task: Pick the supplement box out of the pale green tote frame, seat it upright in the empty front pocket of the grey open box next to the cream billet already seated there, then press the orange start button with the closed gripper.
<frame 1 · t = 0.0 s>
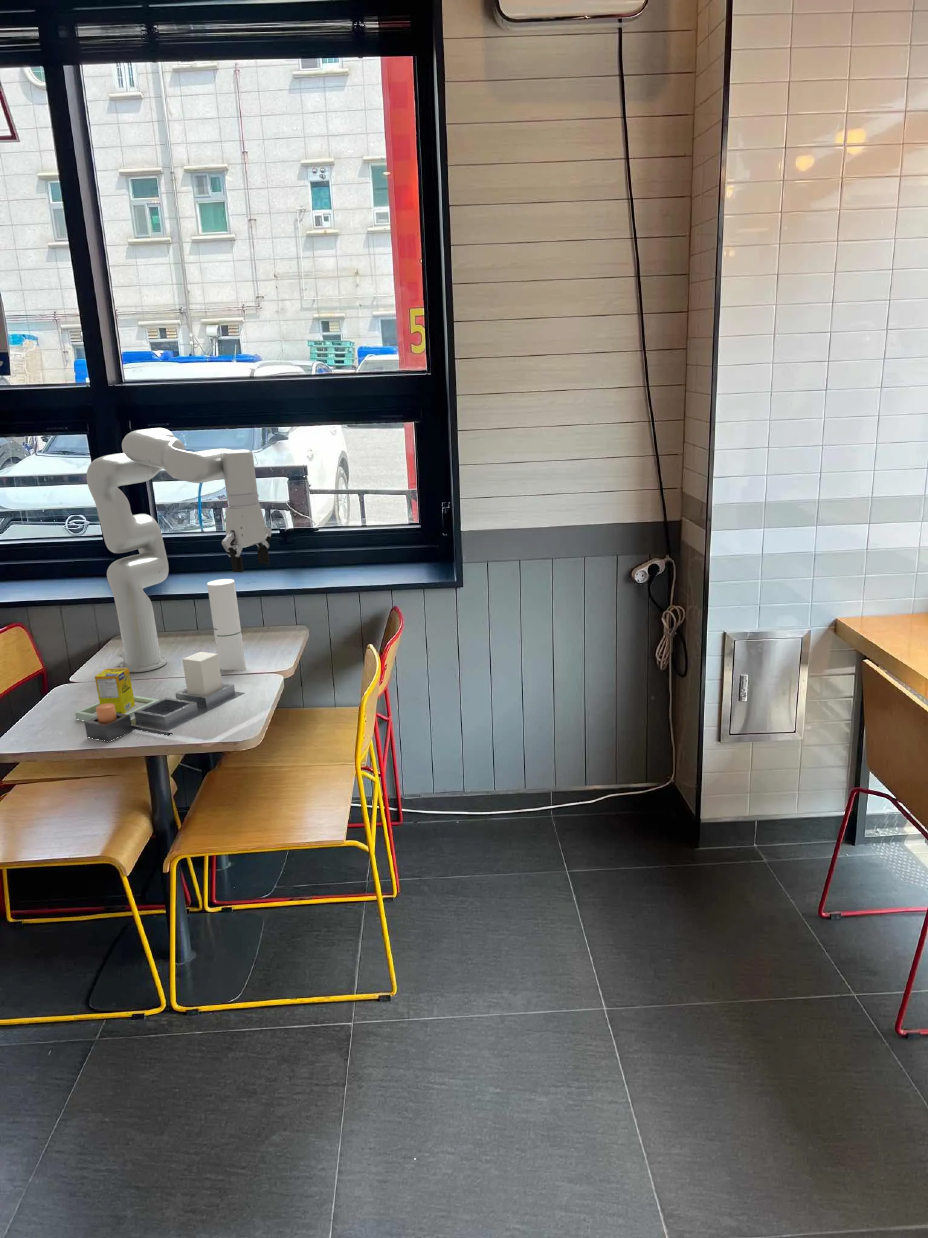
hand: (251, 567, 227), 31 cm above the table, tool pointing down, fingers open, 9 cm apart
cream billet: (206, 698, 224), point 1 cm above the table, touching grey open box
start button: (106, 715, 206), point 5 cm above the table, slide at 0.0 cm
cylindrical container: (232, 670, 249), on the table
tote frame: (119, 713, 220), on the table
supplement box: (119, 714, 220), resting in tote frame
button housing: (110, 734, 207), on the table
grey open box: (187, 712, 219), on the table
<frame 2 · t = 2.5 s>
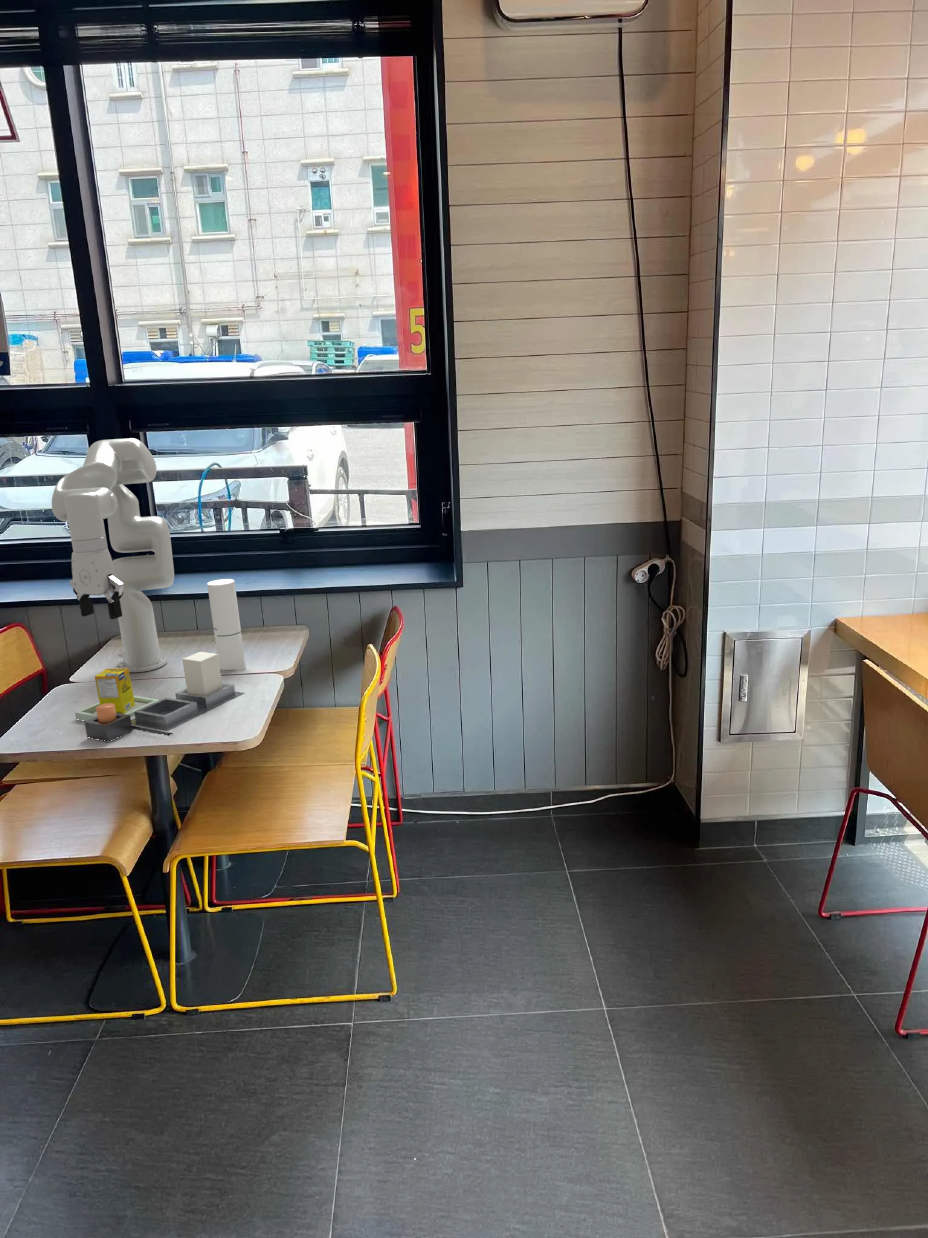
hand: (102, 616, 213), 25 cm above the table, tool pointing down, fingers open, 9 cm apart
nothing on the table moved.
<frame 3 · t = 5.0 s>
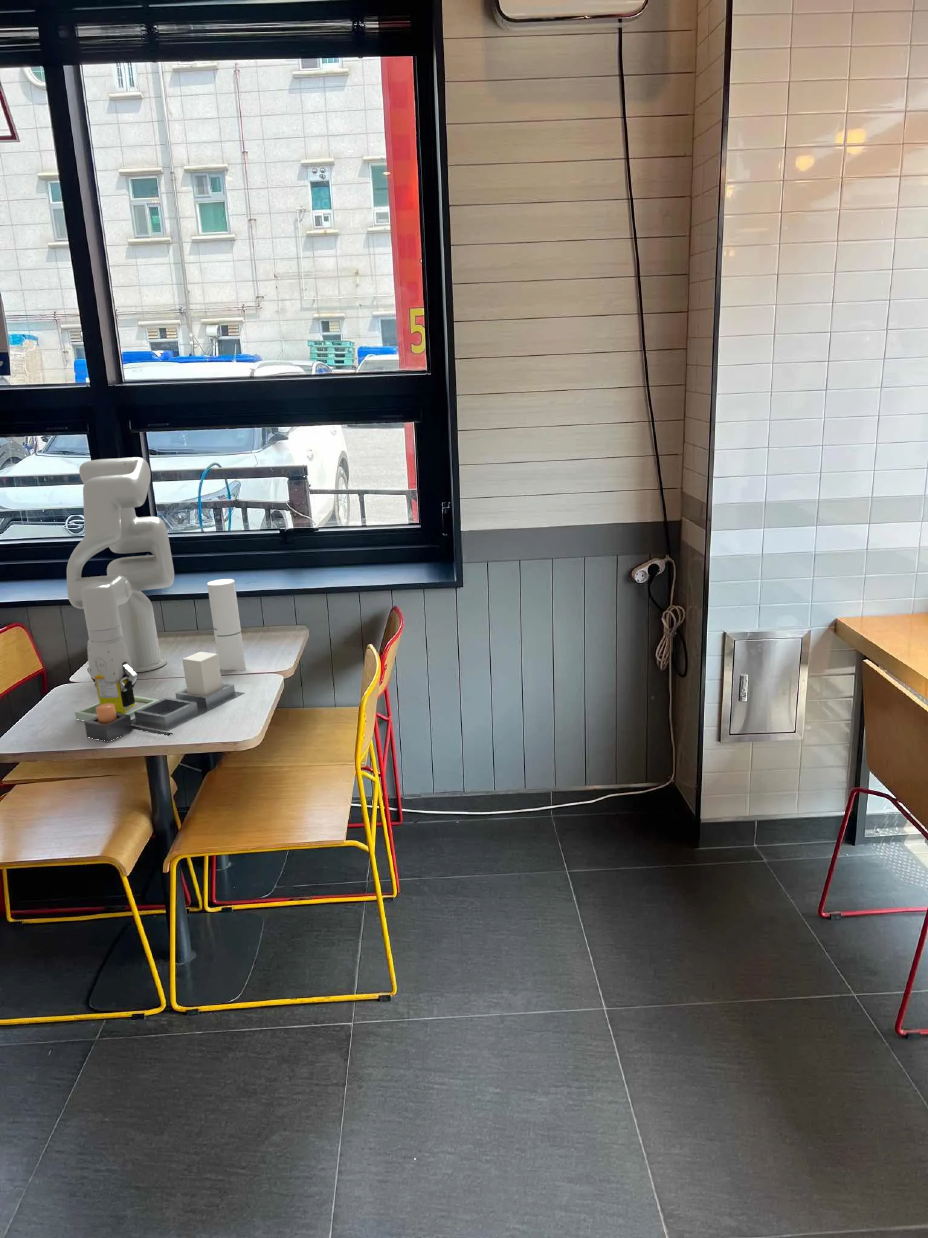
hand: (117, 702, 219), 3 cm above the table, tool pointing down, fingers closed on supplement box, 7 cm apart
supplement box: (119, 714, 220), resting in tote frame, touching gripper
everything else where it was.
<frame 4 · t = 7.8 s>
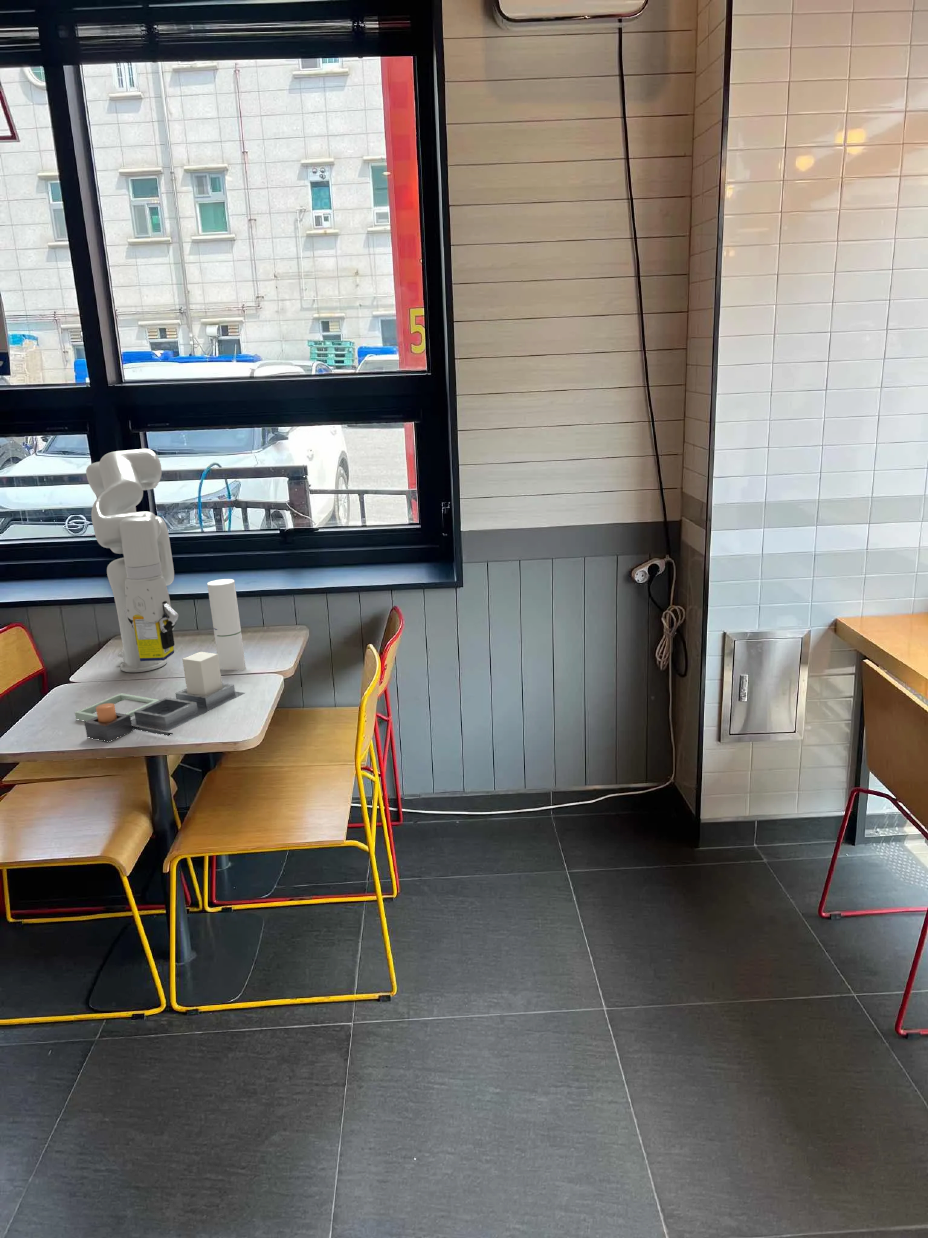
hand: (155, 645, 208), 19 cm above the table, tool pointing down, fingers closed on supplement box, 7 cm apart
supplement box: (157, 658, 209), point 16 cm above the table, touching gripper
everything else where it was.
when the fingers open (5 cm above the table, at t = 10.7 s): supplement box drops 1 cm, resting on grey open box.
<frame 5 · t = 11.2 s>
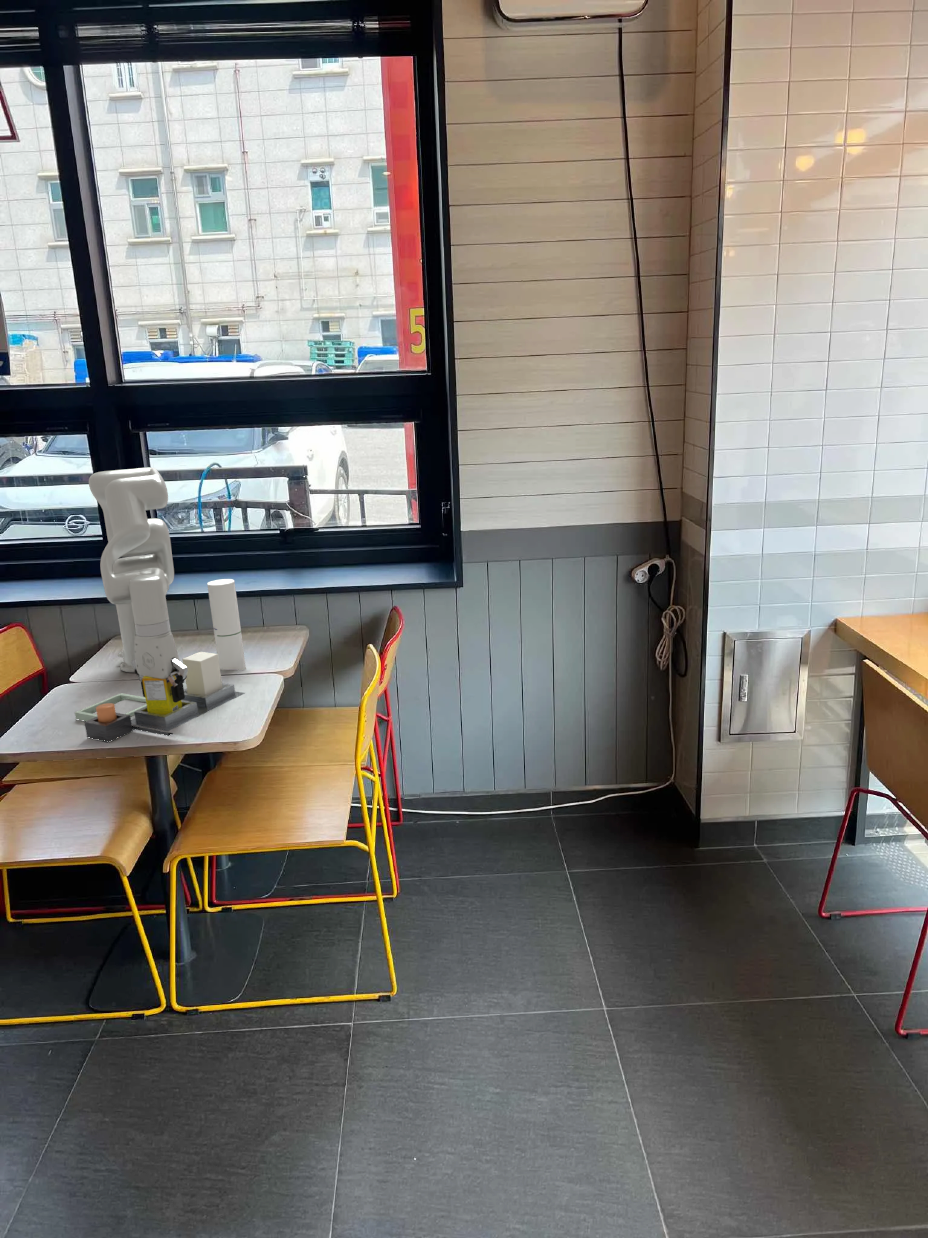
hand: (164, 697, 211), 6 cm above the table, tool pointing down, fingers open, 9 cm apart
supplement box: (166, 717, 213), point 1 cm above the table, touching grey open box
everything else where it was.
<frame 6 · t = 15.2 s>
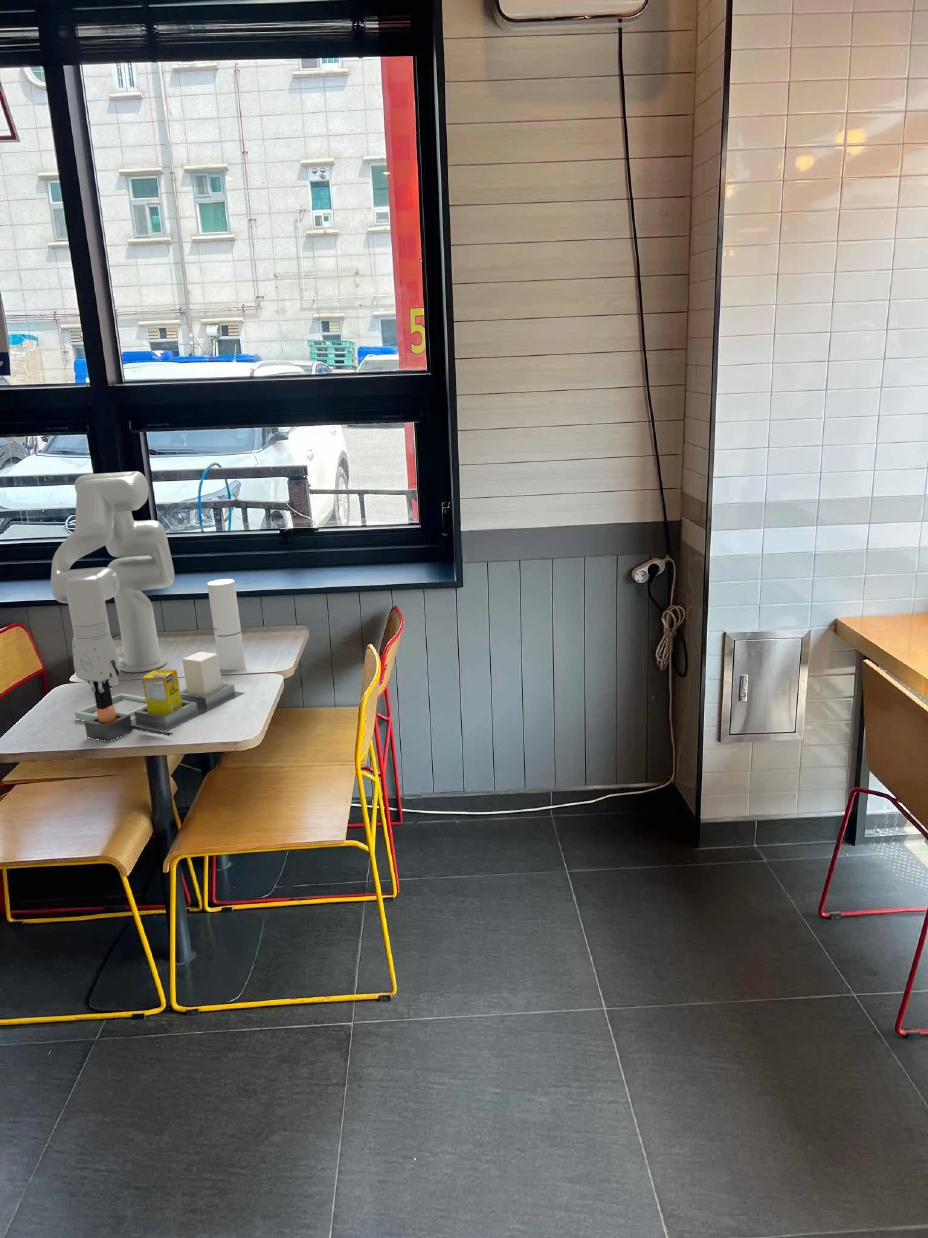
hand: (105, 706, 205), 7 cm above the table, tool pointing down, fingers closed
start button: (106, 715, 206), point 5 cm above the table, slide at 0.0 cm, touching gripper
everything else where it was.
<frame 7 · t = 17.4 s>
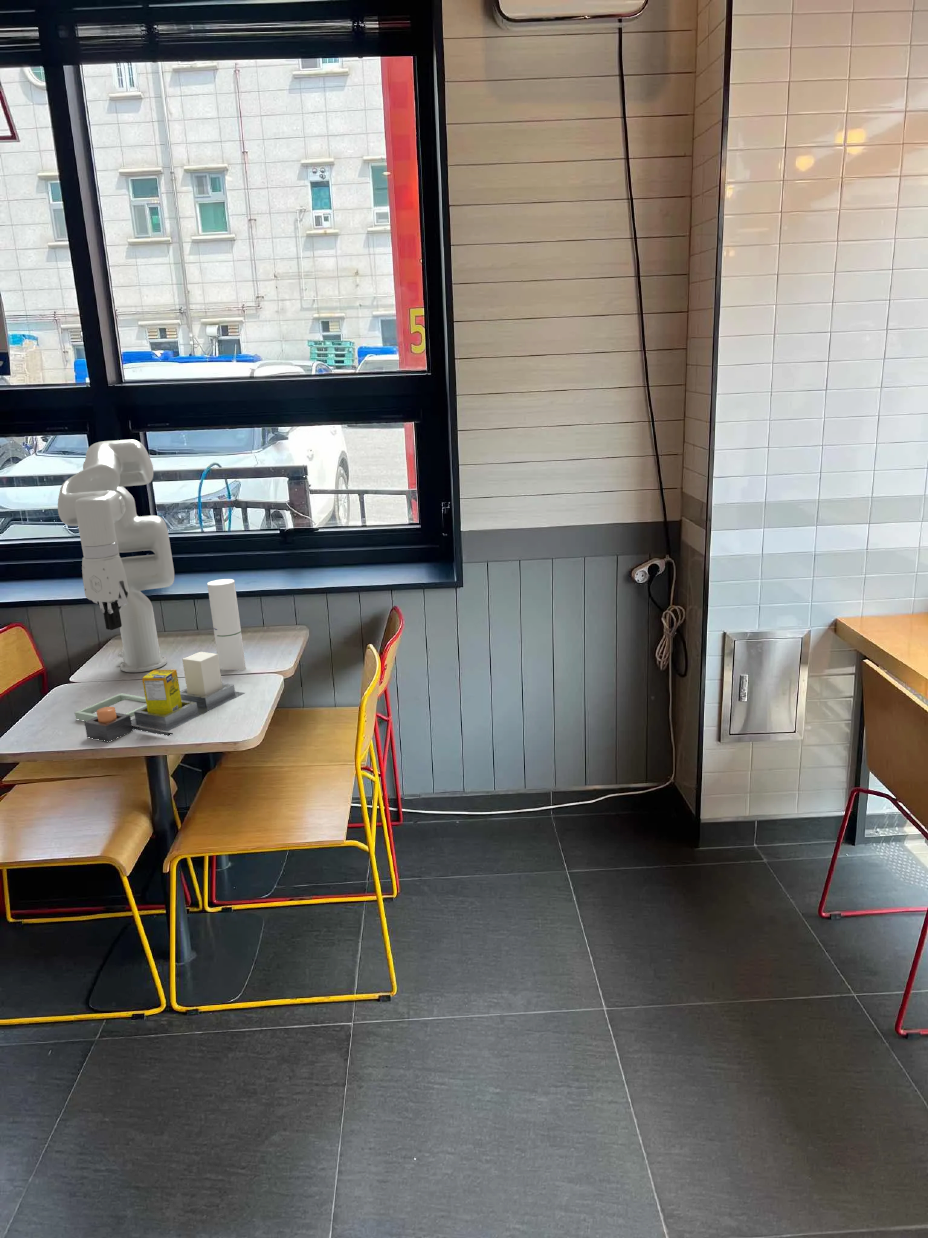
hand: (114, 628, 209), 23 cm above the table, tool pointing down, fingers closed
start button: (107, 718, 206), point 4 cm above the table, slide at 0.9 cm
everything else where it was.
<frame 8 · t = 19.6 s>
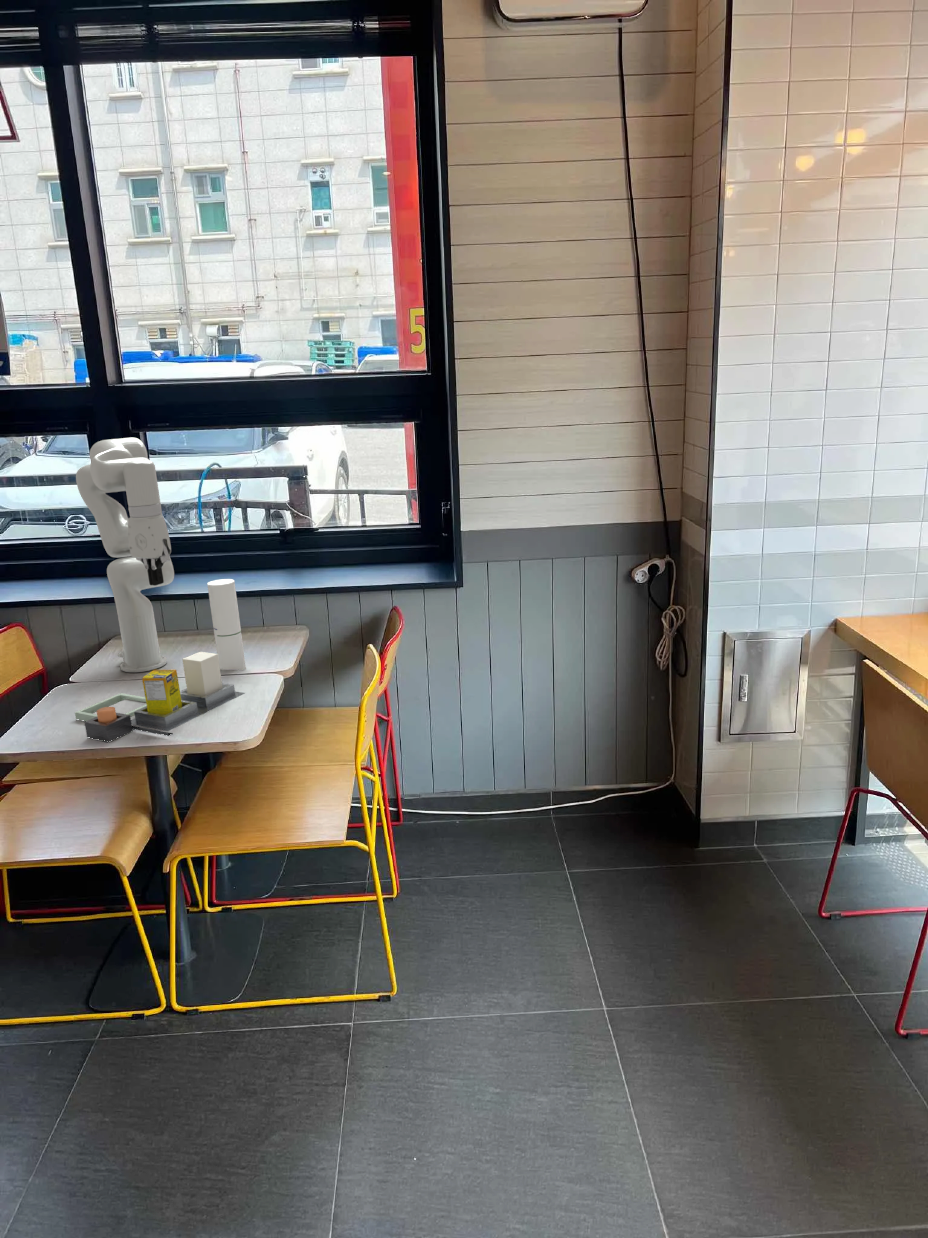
hand: (156, 584, 225), 29 cm above the table, tool pointing down, fingers closed
nothing on the table moved.
at the end: supplement box 0.3 cm from the target spot on the grey open box, point 1.0 cm above the grey open box's base; supplement box tilted 0°; start button slide at 0.9 cm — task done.
